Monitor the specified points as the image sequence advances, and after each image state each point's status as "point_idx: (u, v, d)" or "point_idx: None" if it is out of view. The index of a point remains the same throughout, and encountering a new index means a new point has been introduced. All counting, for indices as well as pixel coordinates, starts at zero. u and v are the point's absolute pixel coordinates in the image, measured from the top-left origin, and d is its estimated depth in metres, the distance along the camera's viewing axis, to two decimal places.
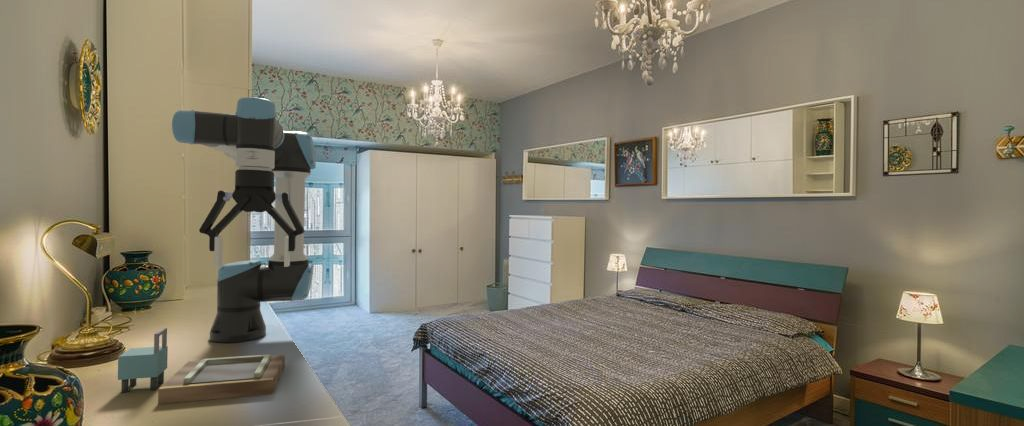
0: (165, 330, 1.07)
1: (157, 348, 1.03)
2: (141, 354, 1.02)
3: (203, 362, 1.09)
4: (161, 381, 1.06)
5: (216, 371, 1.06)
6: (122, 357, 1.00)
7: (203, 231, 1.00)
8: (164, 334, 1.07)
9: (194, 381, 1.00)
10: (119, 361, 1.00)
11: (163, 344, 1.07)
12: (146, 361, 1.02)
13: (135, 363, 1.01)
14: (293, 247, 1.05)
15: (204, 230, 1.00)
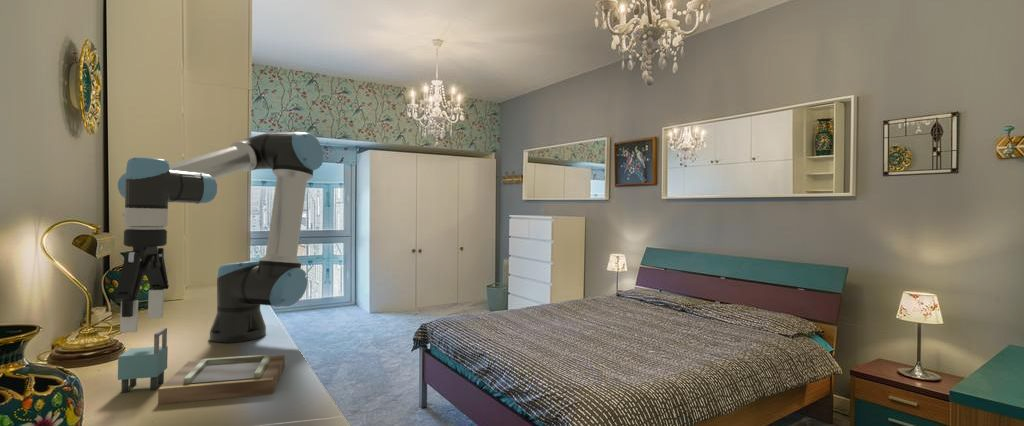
0: (165, 330, 1.07)
1: (157, 348, 1.03)
2: (141, 354, 1.02)
3: (203, 362, 1.09)
4: (161, 381, 1.06)
5: (216, 371, 1.06)
6: (122, 357, 1.00)
7: None
8: (164, 334, 1.07)
9: (194, 381, 1.00)
10: (119, 361, 1.00)
11: (163, 344, 1.07)
12: (146, 361, 1.02)
13: (135, 363, 1.01)
14: (122, 313, 0.96)
15: None
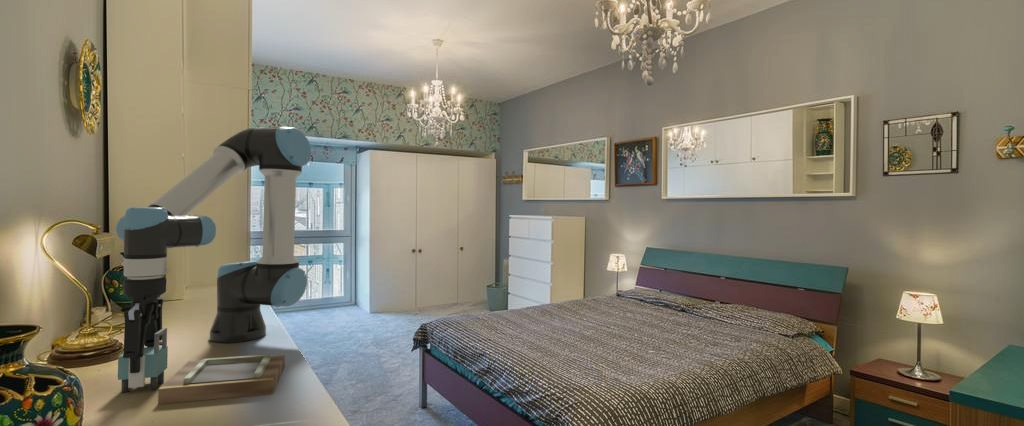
0: (165, 330, 1.07)
1: (157, 348, 1.03)
2: None
3: (203, 362, 1.09)
4: (161, 381, 1.06)
5: (216, 371, 1.06)
6: (122, 357, 1.00)
7: None
8: (164, 334, 1.07)
9: (194, 381, 1.00)
10: (119, 361, 1.00)
11: (163, 344, 1.07)
12: (146, 361, 1.02)
13: None
14: None
15: None
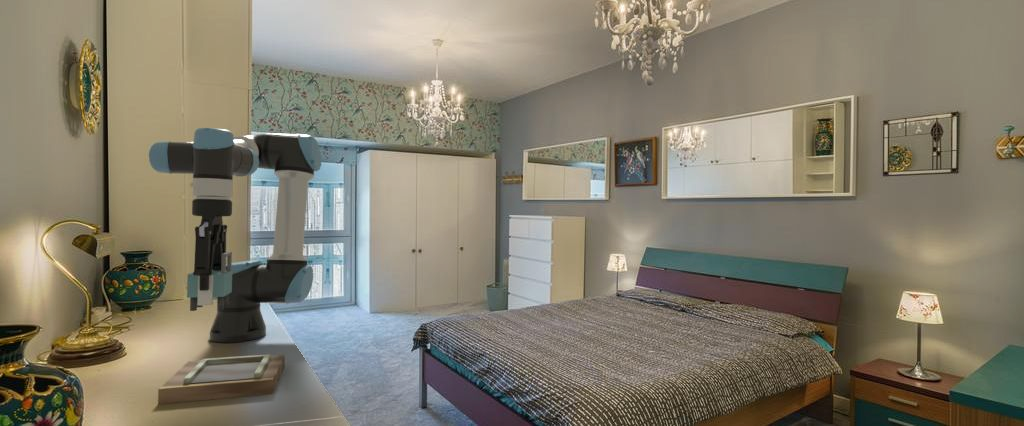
0: (230, 253, 1.07)
1: (224, 268, 1.04)
2: None
3: (203, 362, 1.09)
4: (226, 304, 1.07)
5: (216, 371, 1.06)
6: (191, 275, 1.01)
7: None
8: (229, 257, 1.08)
9: (194, 381, 1.00)
10: (188, 279, 1.01)
11: (228, 267, 1.08)
12: (214, 281, 1.03)
13: None
14: (200, 286, 1.00)
15: None
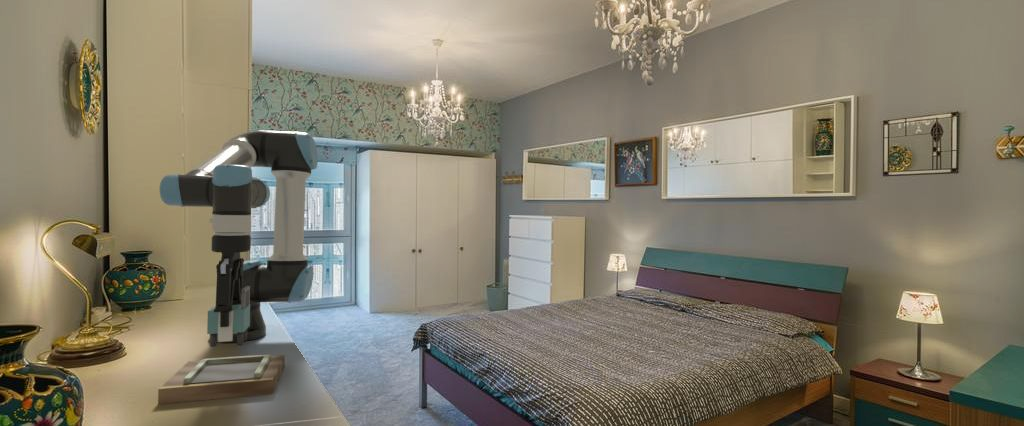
0: (249, 288, 1.08)
1: (244, 304, 1.04)
2: None
3: (203, 362, 1.09)
4: (244, 338, 1.08)
5: (216, 371, 1.06)
6: (211, 311, 1.02)
7: None
8: (248, 292, 1.08)
9: (194, 381, 1.00)
10: (209, 315, 1.02)
11: (247, 301, 1.08)
12: (234, 316, 1.03)
13: None
14: (220, 323, 1.01)
15: None
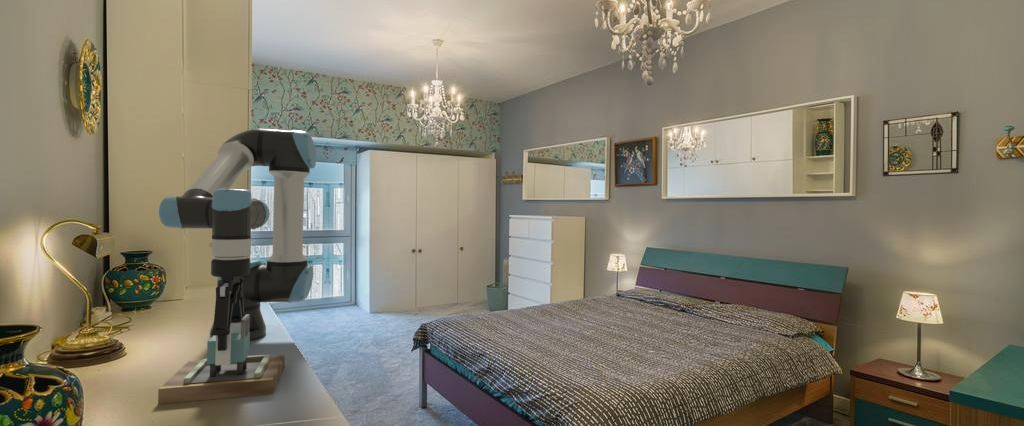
0: (248, 316, 1.08)
1: (243, 333, 1.04)
2: None
3: (203, 362, 1.09)
4: (244, 367, 1.08)
5: (216, 371, 1.06)
6: (211, 342, 1.02)
7: None
8: (247, 320, 1.08)
9: (194, 381, 1.00)
10: (208, 346, 1.02)
11: (246, 330, 1.08)
12: (234, 346, 1.03)
13: None
14: (218, 346, 0.99)
15: None
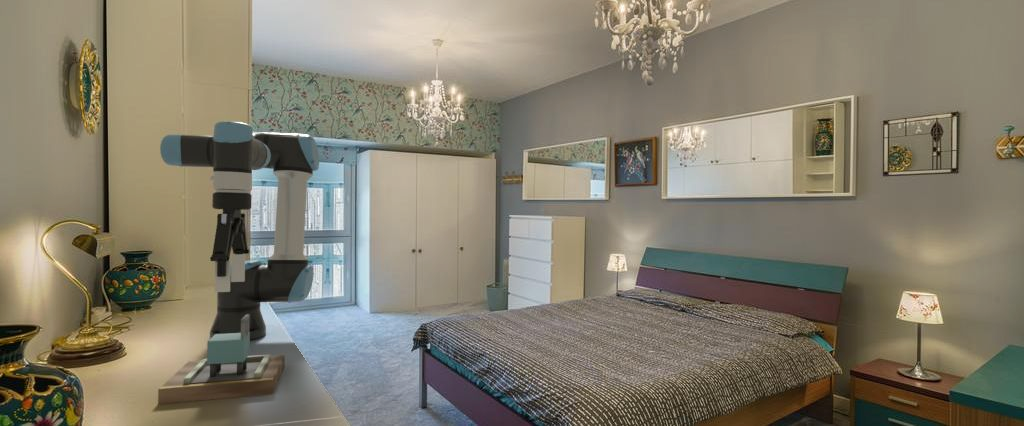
0: (248, 316, 1.08)
1: (243, 333, 1.04)
2: (228, 339, 1.04)
3: (203, 362, 1.09)
4: (244, 367, 1.08)
5: (216, 371, 1.06)
6: (211, 342, 1.02)
7: None
8: (247, 320, 1.08)
9: (194, 381, 1.00)
10: (208, 346, 1.02)
11: (246, 330, 1.08)
12: (234, 346, 1.03)
13: (223, 347, 1.03)
14: (217, 272, 0.98)
15: None
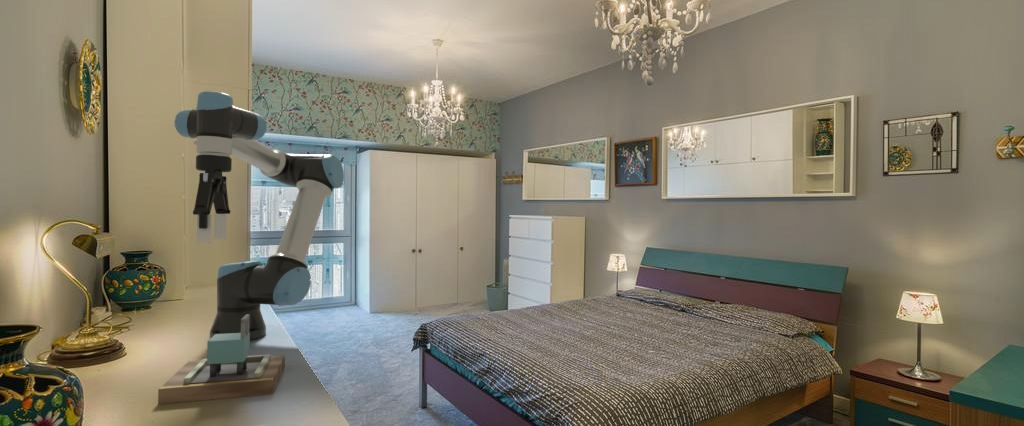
0: (248, 316, 1.08)
1: (243, 333, 1.04)
2: (228, 339, 1.04)
3: (203, 362, 1.09)
4: (244, 367, 1.08)
5: (216, 371, 1.06)
6: (211, 342, 1.02)
7: None
8: (247, 320, 1.08)
9: (194, 381, 1.00)
10: (208, 346, 1.02)
11: (246, 330, 1.08)
12: (234, 346, 1.03)
13: (223, 347, 1.03)
14: (199, 224, 1.09)
15: None
